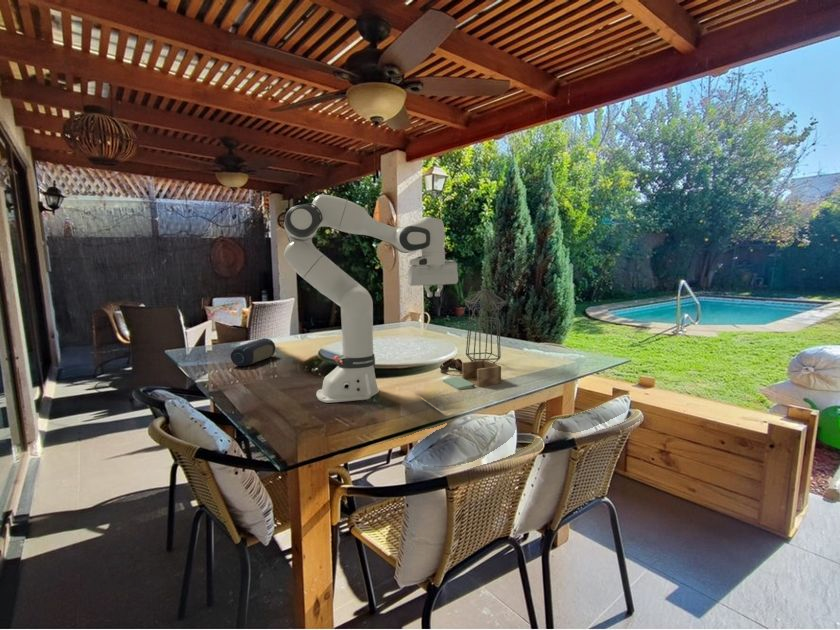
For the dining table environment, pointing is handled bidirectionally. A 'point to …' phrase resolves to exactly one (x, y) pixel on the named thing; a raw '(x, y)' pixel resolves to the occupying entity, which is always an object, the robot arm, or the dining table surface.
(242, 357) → the portable speaker
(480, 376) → the crate
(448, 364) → the dark brown arch
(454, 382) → the panel
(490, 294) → the geometric lantern
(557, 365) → the dining table surface
